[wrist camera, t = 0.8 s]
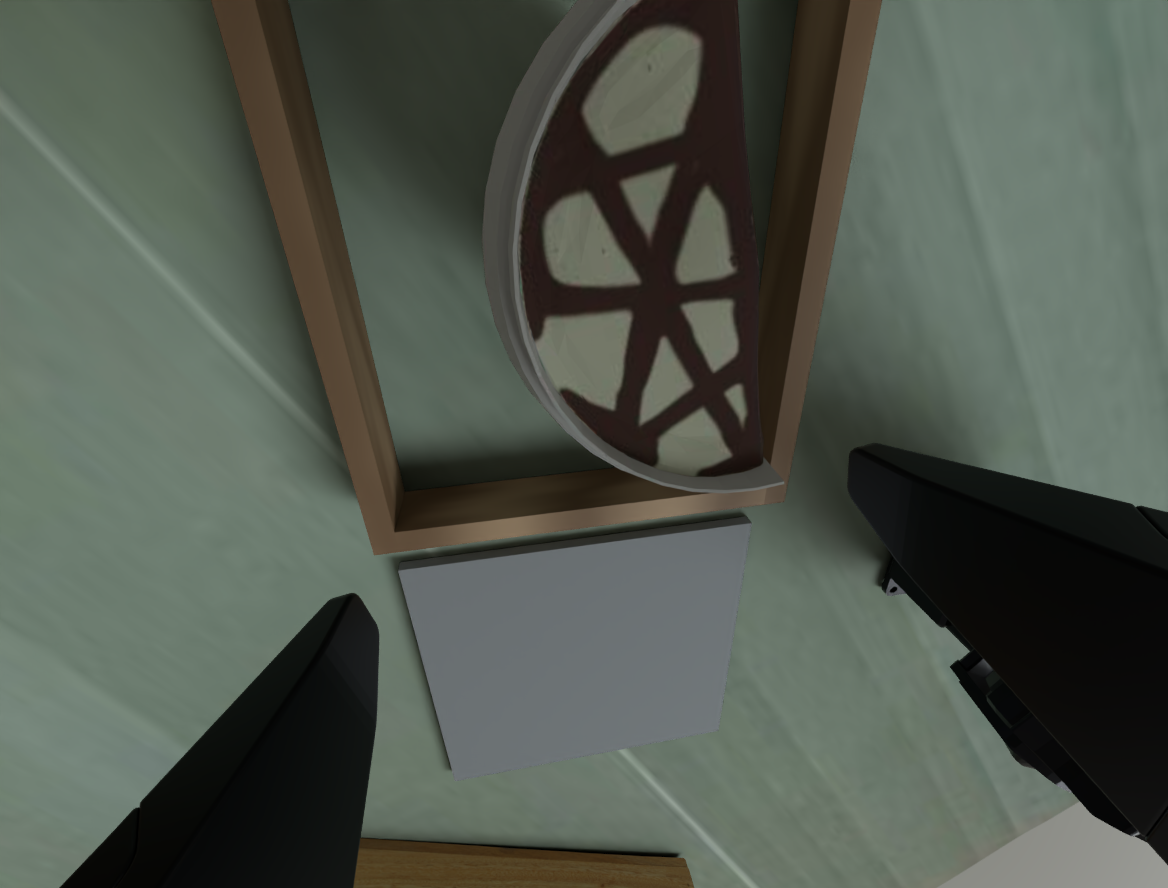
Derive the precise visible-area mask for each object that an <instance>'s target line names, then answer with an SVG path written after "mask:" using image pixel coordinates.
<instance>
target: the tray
mask: <svg viewBox="0 0 1168 888" xmlns="http://www.w3.org/2000/svg"><path fill="white" fill-rule="evenodd" d="M353 888H694V886H693V882H692V878H691V875H690V872H689V869H688V867H687V864H686V860H685V859H684V858H671V857H647V856H631V855H613V854H596V853H579V852H566V851H549V850H533V849H517V848H501V847H487V846H474V845H459V844H444V843H428V842H412V841H402V840H385V839H370V838H360V845H359V852H358V859H357V866H356V873H355V880H354V887H353Z"/></svg>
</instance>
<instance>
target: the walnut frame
mask: <svg viewBox="0 0 1168 888" xmlns="http://www.w3.org/2000/svg"><path fill="white" fill-rule="evenodd" d="M211 2H212V5H213V9H214V12H215V16H216V19H217V22H218V26H219V29H220V33H221V36H222V39H223V43H224V46H225V50H226V53H227V56H228V60H229V63H230V67H231V70H232V73H233V77H234V80H235V84H236V87H237V90H238V94H239V97H240V101H241V104H242V107H243V111H244V114H245V118H246V121H247V124H248V128H249V131H250V135H251V138H252V141H253V145H254V148H255V152H256V155H257V158H258V162H259V165H260V169H261V172H262V175H263V179H264V182H265V186H266V189H267V192H268V196H269V199H270V203H271V206H272V209H273V213H274V216H275V220H276V223H277V226H278V230H279V233H280V237H281V240H282V243H283V247H284V250H285V254H286V257H287V260H288V264H289V267H290V271H291V274H292V277H293V281H294V284H295V288H296V291H297V294H298V298H299V301H300V305H301V308H302V311H303V315H304V318H305V322H306V325H307V328H308V332H309V335H310V339H311V342H312V345H313V349H314V352H315V356H316V359H317V362H318V366H319V369H320V373H321V376H322V379H323V383H324V386H325V390H326V393H327V396H328V400H329V403H330V407H331V410H332V413H333V417H334V420H335V424H336V427H337V430H338V434H339V437H340V441H341V444H342V447H343V451H344V454H345V458H346V461H347V464H348V468H349V471H350V475H351V478H352V481H353V485H354V488H355V492H356V495H357V498H358V502H359V505H360V509H361V512H362V515H363V519H364V522H365V526H366V529H367V532H368V536H369V539H370V543H371V546H372V549H373V553H374V555H380V554H387V553H395V552H403V551H410V550H418V549H426V548H434V547H441V546H449V545H457V544H464V543H472V542H480V541H487V540H495V539H503V538H511V537H518V536H526V535H534V534H541V533H549V532H557V531H564V530H572V529H580V528H588V527H595V526H603V525H611V524H618V523H626V522H634V521H641V520H649V519H657V518H665V517H672V516H680V515H688V514H695V513H703V512H711V511H718V510H726V509H734V508H742V507H749V506H757V505H765V504H772V503H780V502H784V501H785V496H786V491H787V486H788V480H789V475H790V470H791V465H792V460H793V455H794V450H795V444H796V439H797V434H798V429H799V424H800V419H801V414H802V409H803V403H804V398H805V393H806V388H807V383H808V378H809V373H810V367H811V362H812V357H813V352H814V347H815V342H816V337H817V332H818V326H819V321H820V316H821V311H822V306H823V301H824V296H825V290H826V285H827V280H828V275H829V270H830V265H831V260H832V255H833V249H834V244H835V239H836V234H837V229H838V224H839V219H840V213H841V208H842V203H843V198H844V193H845V188H846V183H847V178H848V172H849V167H850V162H851V157H852V152H853V147H854V142H855V136H856V131H857V126H858V121H859V116H860V111H861V106H862V101H863V95H864V90H865V85H866V80H867V75H868V70H869V65H870V59H871V54H872V49H873V44H874V39H875V34H876V29H877V24H878V18H879V13H880V8H881V3H882V0H798V7H797V15H796V22H795V30H794V37H793V45H792V52H791V60H790V67H789V74H788V82H787V89H786V97H785V104H784V112H783V119H782V127H781V134H780V142H779V149H778V157H777V164H776V172H775V179H774V187H773V194H772V201H771V209H770V216H769V224H768V231H767V239H766V246H765V254H764V261H763V269H762V276H761V284H760V291H759V328H758V385H759V410H760V421H761V430H762V434H763V438H764V444H763V457H764V458H765V459H766V460H767V462H768V463H769V464H770V465H771V466H772V468H773V469H774V470H775V471H776V472H777V474H778V475H779V476H780V477H781V478H782V480H783V481H784V484H782V485H777V486H773V487H769V488H764V489H760V490H755V491H744V492H733V493H707V492H691V491H686V490H682V489H677V488H672V487H667V486H662V485H660V484H657V483H654V482H652V481H649V480H646V479H643V478H641V477H638V476H635V475H633V474H631V473H628V472H625V471H623V470H620V469H618V468H608V469H599V470H590V471H582V472H573V473H564V474H555V475H547V476H538V477H529V478H520V479H512V480H503V481H494V482H486V483H477V484H468V485H459V486H451V487H442V488H433V489H424V490H416V491H407V492H405V490H404V486H403V482H402V478H401V473H400V469H399V465H398V461H397V457H396V452H395V448H394V444H393V440H392V436H391V431H390V427H389V423H388V419H387V415H386V410H385V406H384V402H383V398H382V394H381V389H380V385H379V381H378V377H377V373H376V368H375V364H374V360H373V356H372V351H371V347H370V343H369V339H368V335H367V330H366V326H365V322H364V318H363V314H362V309H361V305H360V301H359V297H358V293H357V288H356V284H355V280H354V276H353V272H352V267H351V263H350V259H349V255H348V251H347V246H346V242H345V238H344V234H343V230H342V225H341V221H340V217H339V213H338V209H337V204H336V200H335V196H334V192H333V188H332V183H331V179H330V175H329V171H328V167H327V162H326V158H325V154H324V150H323V146H322V141H321V137H320V133H319V129H318V125H317V120H316V116H315V112H314V108H313V104H312V99H311V95H310V91H309V87H308V83H307V78H306V74H305V70H304V66H303V62H302V57H301V53H300V49H299V45H298V41H297V36H296V32H295V28H294V24H293V20H292V15H291V11H290V7H289V3H288V0H211Z"/></svg>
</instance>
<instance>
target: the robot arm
mask: <svg viewBox="0 0 1168 888" xmlns="http://www.w3.org/2000/svg"><path fill="white" fill-rule="evenodd" d="M847 486H848V492H849V495H850V497H851V499H852V500H853V502H854V503H855V504H856V506H857V507H858V509H859V510H860V511H861V513H862V514H863V515H864V517H865V518H866V520H867V521H868V522H869V524H870V525H871V526H872V528H873V529H874V531H875V532H876V533H877V535H878V536H879V538H880V539H881V540H882V542H883V543H884V544H885V546H886V547H887V549H888V550H889V551H890V553H891V554H892V558H891V561H890V564H889V567H888V570H887V573H886V576H885V579H884V582H883V584H882V590H883V591H884V592H885V593H886V594H887V595H888V596H894V595H900V594H907V595H908V596H909V597H910V598H911V599H912V600H913V601H914V602H915V603H916V604H917V605H918V606H919V607H920V608H921V609H922V610H923V611H924V612H925V613H926V614H927V615H928V616H929V617H930V618H931V619H932V620H933V621H934V622H935V623H936V624H937V625H938V626H940V627H946V628H947V629H948V630H949V631H950V632H951V633H952V634H953V635H954V636H955V637H956V638H957V639H958V640H959V641H960V642H961V643H962V644H963V645H964V646H965V647H966V648H967V649H968V650H969V651H970V652H969V653H968V654H967V655H966V656H964V657H963V658H962V659H961V660H957V661H955V662H954V663H953V664H952V665H951V666H950V668H951V669H952V670H953V672H954V673H955V674H956V676H957V677H958V678H959V680H960V681H959V683H960V684H961V685H962V687H963V688H964V689H965V691H966V692H967V693H968V695H969V696H970V697H971V698H972V700H973V701H974V702H975V704H976V705H977V706H978V708H979V709H980V710H981V712H982V713H983V714H984V716H985V717H986V718H987V720H988V721H989V722H990V723H991V725H992V726H993V727H994V729H995V730H996V731H997V733H998V734H999V735H1000V737H1001V738H1002V739H1003V741H1004V742H1005V744H1006V746H1007V748H1008V749H1009V751H1010V753H1011V755H1012V756H1013V757H1014V758H1015V760H1016V761H1017V762H1019V763H1020V764H1021V765H1023V766H1025V767H1029V768H1033V769H1036V770H1037V771H1039V772H1040V773H1041V774H1042V775H1044V776H1045V777H1046V778H1047V779H1049V780H1050V781H1052V782H1053V783H1054V784H1056V785H1057V786H1059V787H1061V788H1062V789H1064V790H1066V791H1068V792H1072V793H1073V794H1074V795H1075V796H1076V797H1077V798H1078V800H1079V801H1080V802H1081V803H1082V804H1083V805H1084V806H1085V807H1086V809H1087V810H1088V811H1089V812H1090V813H1091V814H1092V815H1093V816H1095V817H1097V818H1098V819H1100V820H1102V821H1104V822H1105V823H1107V824H1109V825H1111V826H1113V827H1115V828H1116V829H1118V830H1120V831H1122V832H1124V833H1126V834H1128V835H1130V836H1135V837H1137V838H1139V839H1141V840H1143V841H1145V842H1147V843H1148V844H1149V845H1150V846H1151V847H1152V848H1153V849H1154V850H1155V851H1156V853H1157V854H1158V855H1159V856H1160V857H1161V858H1162V859H1163V860H1164V861H1165V863H1166V864H1167V865H1168V512H1164V511H1160V510H1156V509H1152V508H1148V507H1144V506H1137V507H1135V506H1134V505H1133V504H1131V503H1126V502H1122V501H1118V500H1114V499H1109V498H1105V497H1101V496H1097V495H1093V494H1088V493H1084V492H1080V491H1076V490H1072V489H1067V488H1063V487H1059V486H1055V485H1050V484H1046V483H1042V482H1038V481H1034V480H1029V479H1025V478H1021V477H1017V476H1013V475H1008V474H1004V473H1000V472H996V471H992V470H987V469H983V468H979V467H975V466H970V465H966V464H962V463H958V462H954V461H949V460H945V459H941V458H937V457H933V456H928V455H924V454H920V453H916V452H912V451H907V450H903V449H899V448H895V447H891V446H886V445H882V444H878V443H871V444H868V445H864V446H861V447H857V448H854V449H853V450H852V451H851V452H850V454H849V466H848V483H847ZM378 665H379V631H378V627H377V624H376V622H375V621H374V619H373V617H372V616H371V614H370V613H369V611H368V609H367V608H366V606H365V605H364V603H363V601H362V600H361V598H360V597H359V596H358V595H357V594H355V593H349V594H346V595H342V596H339V597H335V598H332V599H330V600H329V601H328V602H327V603H326V604H325V605H324V606H323V607H322V608H321V609H320V610H319V611H318V612H317V613H316V614H315V616H314V617H313V618H312V619H311V620H310V621H309V622H308V623H307V624H306V625H305V626H304V627H303V628H302V629H301V631H300V632H299V633H298V634H297V635H296V636H295V637H294V638H293V639H292V640H291V641H290V642H289V643H288V645H287V646H286V647H285V648H284V649H283V650H282V651H281V652H280V653H279V654H278V655H277V656H276V657H275V658H274V660H273V661H272V662H271V663H270V664H269V665H268V666H267V667H266V668H265V669H264V670H263V671H262V672H261V673H260V675H259V676H258V677H257V678H256V679H255V680H254V681H253V682H252V683H251V684H250V685H249V686H248V687H247V688H246V690H245V691H244V692H243V693H242V694H241V695H240V696H239V697H238V698H237V699H236V700H235V701H234V702H233V703H232V705H231V706H230V707H229V708H228V709H227V710H226V711H225V712H224V713H223V714H222V715H221V716H220V717H219V718H218V720H217V721H216V722H215V723H214V724H213V725H212V726H211V727H210V728H209V729H208V730H207V731H206V732H205V733H204V735H203V736H202V737H201V738H200V739H199V740H198V741H197V742H196V743H195V744H194V745H193V746H192V747H191V748H190V750H189V751H188V752H187V753H186V754H185V755H184V756H183V757H182V758H181V759H180V760H179V761H178V762H177V763H176V765H175V766H174V767H173V768H172V769H171V770H170V771H169V772H168V773H167V774H166V775H165V776H164V777H163V778H162V780H161V781H160V782H159V783H158V784H157V785H156V786H155V787H154V788H153V789H152V790H151V791H150V792H149V793H148V795H147V796H146V797H145V798H144V799H143V800H142V801H141V802H140V808H139V807H138V808H135V809H133V810H132V811H131V813H130V814H129V815H128V816H127V817H126V818H125V819H124V820H123V821H122V822H121V823H120V824H119V826H118V827H117V828H116V829H115V830H114V831H113V832H112V833H111V834H110V835H109V836H108V837H107V838H106V839H105V841H104V842H103V843H102V844H101V845H100V846H99V847H98V848H97V849H96V850H95V851H94V852H93V853H92V854H91V855H90V856H89V857H88V858H87V859H86V860H85V861H84V863H83V864H82V865H81V866H80V867H79V868H78V869H77V870H76V871H75V872H74V873H73V874H72V875H71V876H70V877H69V878H68V879H67V880H66V881H65V882H64V883H63V884H62V886H61V887H60V888H353V887H354V880H355V873H356V866H357V859H358V852H359V845H360V838H361V831H362V824H363V817H364V810H365V802H366V795H367V788H368V781H369V774H370V767H371V760H372V753H373V746H374V739H375V730H376V720H377V698H378Z"/></svg>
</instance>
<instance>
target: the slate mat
mask: <svg viewBox="0 0 1168 888" xmlns="http://www.w3.org/2000/svg"><path fill="white" fill-rule="evenodd" d="M751 525H752V523H751V521H750V520H749V519H748V517H747V516H746V517H738V518H731V519H723V520H716V521H708V522H700V523H693V524H685V525H678V526H670V527H663V528H655V529H648V530H640V531H633V532H625V533H617V534H610V535H602V536H595V537H587V538H580V539H572V540H565V541H557V542H550V543H542V544H534V545H527V546H519V547H512V548H504V549H497V550H489V551H482V552H474V553H467V554H459V555H451V556H444V557H436V558H429V559H421V560H414V561H406V562H400V564H399V569H398V572H399V576H400V580H401V583H402V587H403V591H404V594H405V598H406V602H407V605H408V609H409V613H410V617H411V620H412V624H413V628H414V631H415V635H416V639H417V643H418V646H419V650H420V654H421V657H422V661H423V665H424V668H425V672H426V676H427V680H428V683H429V687H430V691H431V694H432V698H433V702H434V706H435V709H436V713H437V717H438V720H439V724H440V728H441V731H442V735H443V739H444V743H445V746H446V750H447V754H448V757H449V761H450V765H451V769H452V772H453V776H454V780H455V781H459V780H464V779H469V778H474V777H479V776H485V775H490V774H495V773H500V772H505V771H511V770H516V769H521V768H526V767H532V766H537V765H542V764H547V763H552V762H558V761H563V760H568V759H573V758H578V757H584V756H589V755H594V754H599V753H605V752H610V751H615V750H620V749H625V748H631V747H636V746H641V745H646V744H651V743H657V742H662V741H667V740H672V739H678V738H683V737H688V736H693V735H698V734H704V733H709V732H714V731H718V729H719V723H720V717H721V711H722V704H723V698H724V692H725V686H726V680H727V673H728V667H729V661H730V655H731V649H732V642H733V636H734V630H735V624H736V618H737V611H738V605H739V599H740V593H741V587H742V580H743V574H744V568H745V562H746V556H747V549H748V543H749V537H750V531H751Z"/></svg>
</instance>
